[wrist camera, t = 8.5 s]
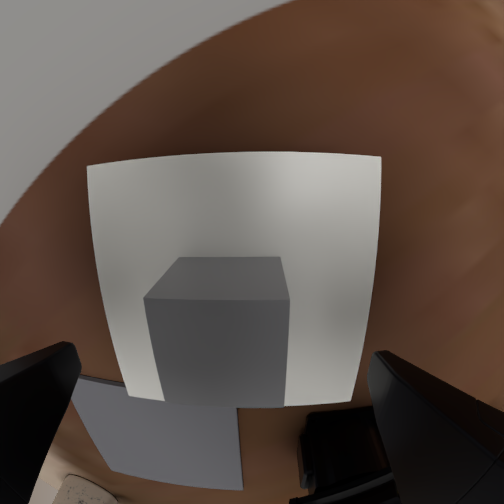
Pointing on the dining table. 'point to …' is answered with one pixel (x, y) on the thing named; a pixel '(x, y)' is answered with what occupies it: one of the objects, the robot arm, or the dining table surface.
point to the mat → (161, 436)
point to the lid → (237, 274)
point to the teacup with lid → (82, 492)
